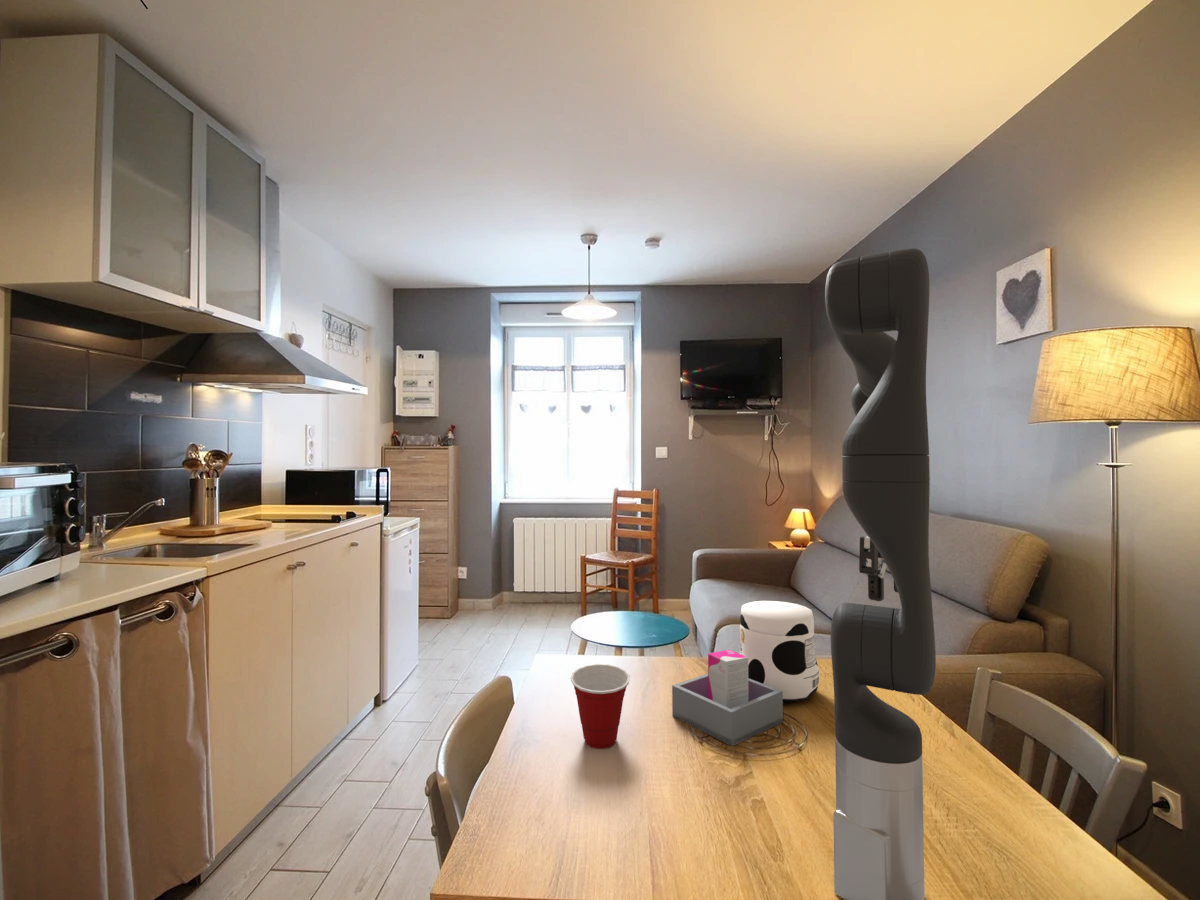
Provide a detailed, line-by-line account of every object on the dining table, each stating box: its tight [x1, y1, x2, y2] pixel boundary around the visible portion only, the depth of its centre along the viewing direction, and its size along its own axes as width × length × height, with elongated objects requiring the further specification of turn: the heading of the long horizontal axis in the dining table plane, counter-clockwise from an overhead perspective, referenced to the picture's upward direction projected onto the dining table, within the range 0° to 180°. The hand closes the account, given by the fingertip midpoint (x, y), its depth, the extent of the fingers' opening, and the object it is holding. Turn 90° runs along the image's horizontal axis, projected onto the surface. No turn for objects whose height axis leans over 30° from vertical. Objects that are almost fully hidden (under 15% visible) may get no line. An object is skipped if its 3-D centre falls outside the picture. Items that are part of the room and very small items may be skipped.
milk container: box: [738, 600, 820, 703], centre depth 123 cm, size 17×17×18 cm
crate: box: [671, 673, 784, 747], centre depth 110 cm, size 15×15×6 cm
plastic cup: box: [569, 663, 631, 750], centre depth 101 cm, size 11×11×12 cm
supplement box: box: [707, 649, 748, 709], centre depth 110 cm, size 6×6×12 cm
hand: (889, 596), depth 92 cm, fingers open, 8 cm apart
